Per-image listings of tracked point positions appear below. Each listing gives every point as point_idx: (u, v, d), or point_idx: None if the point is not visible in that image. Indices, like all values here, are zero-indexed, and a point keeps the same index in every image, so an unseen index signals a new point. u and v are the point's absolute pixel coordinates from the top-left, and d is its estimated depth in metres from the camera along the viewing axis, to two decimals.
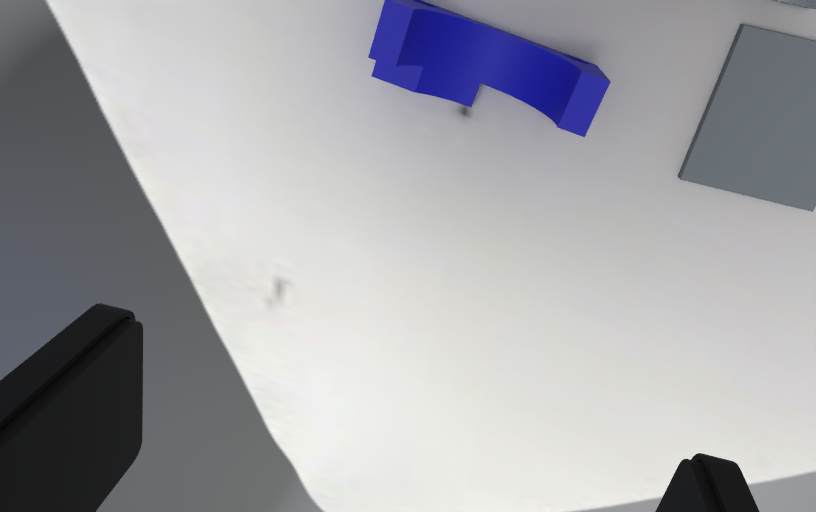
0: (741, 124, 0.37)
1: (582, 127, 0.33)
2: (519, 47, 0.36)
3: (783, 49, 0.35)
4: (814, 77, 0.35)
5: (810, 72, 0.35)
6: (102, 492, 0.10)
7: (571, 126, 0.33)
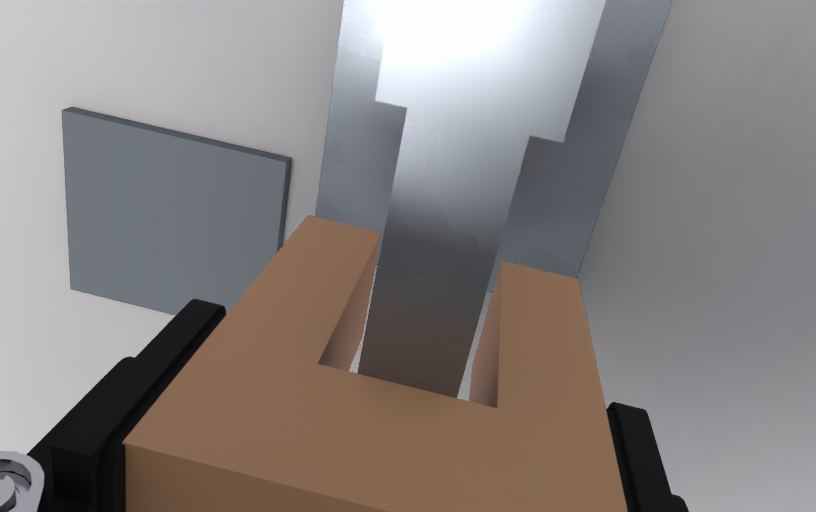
0: (157, 182, 0.25)
1: None
2: None
3: (261, 217, 0.25)
4: (233, 260, 0.26)
5: (238, 254, 0.26)
6: None
7: None
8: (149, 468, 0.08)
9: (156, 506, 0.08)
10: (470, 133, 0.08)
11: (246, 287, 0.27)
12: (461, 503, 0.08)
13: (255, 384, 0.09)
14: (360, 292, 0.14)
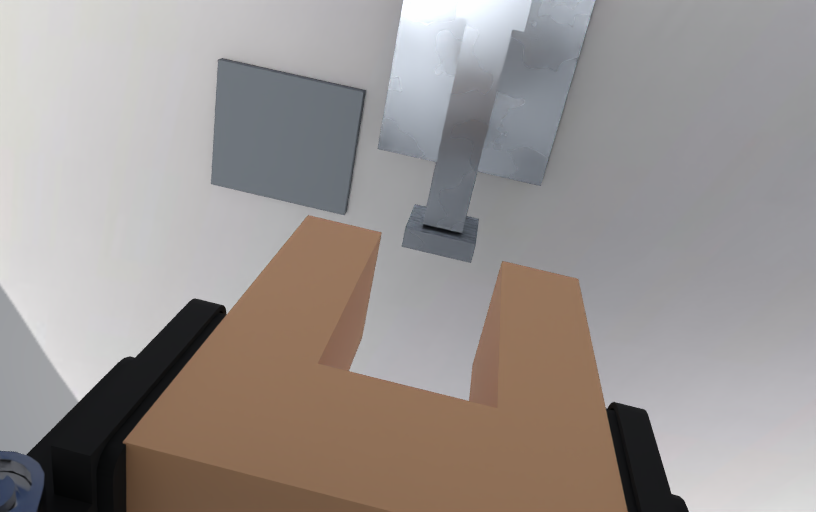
0: (277, 107, 0.39)
1: None
2: None
3: (345, 129, 0.39)
4: (324, 159, 0.40)
5: (328, 155, 0.40)
6: None
7: None
8: (150, 467, 0.08)
9: (157, 506, 0.08)
10: (490, 30, 0.22)
11: (332, 178, 0.40)
12: (460, 502, 0.08)
13: (255, 384, 0.09)
14: (360, 292, 0.14)
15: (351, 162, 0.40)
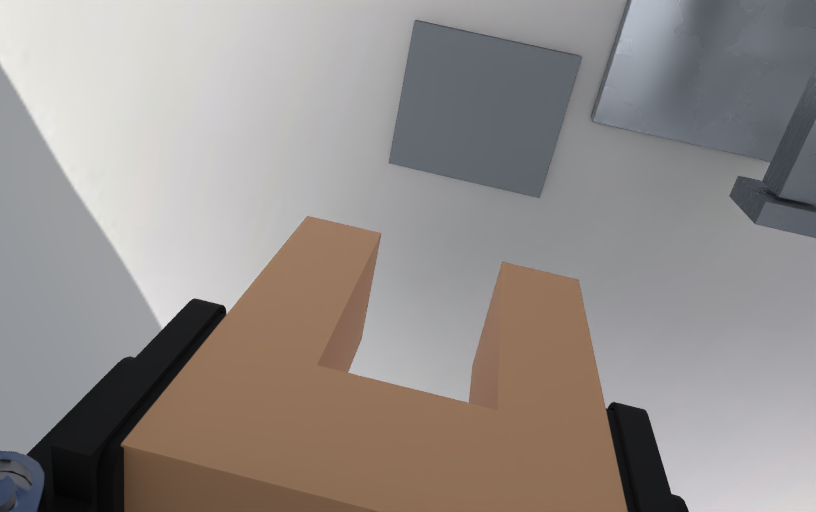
0: (477, 75, 0.35)
1: None
2: None
3: (554, 100, 0.35)
4: (524, 135, 0.35)
5: (530, 130, 0.35)
6: None
7: None
8: (148, 470, 0.08)
9: (155, 509, 0.08)
10: None
11: (530, 157, 0.36)
12: (460, 505, 0.08)
13: (254, 386, 0.09)
14: (360, 293, 0.14)
15: (556, 138, 0.35)
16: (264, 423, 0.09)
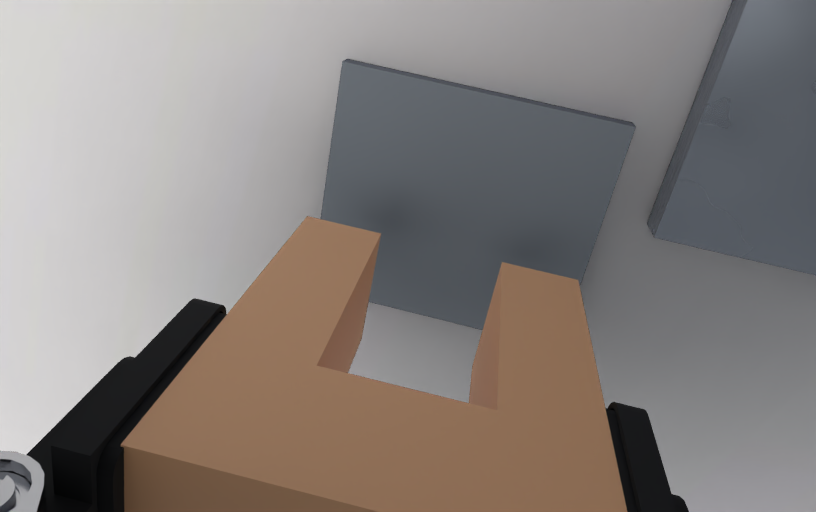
0: (453, 153, 0.20)
1: None
2: None
3: (585, 198, 0.20)
4: (534, 252, 0.21)
5: (543, 244, 0.21)
6: None
7: None
8: (147, 470, 0.08)
9: (155, 509, 0.08)
10: None
11: None
12: (460, 506, 0.08)
13: (254, 386, 0.09)
14: (360, 293, 0.14)
15: (587, 258, 0.21)
16: (264, 423, 0.09)
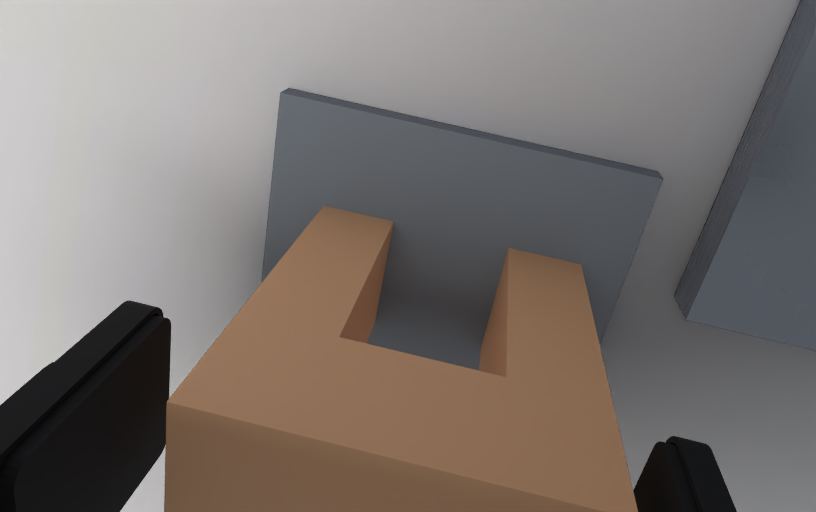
0: (426, 210, 0.16)
1: None
2: None
3: (596, 267, 0.15)
4: None
5: None
6: (131, 485, 0.11)
7: None
8: (190, 426, 0.09)
9: (196, 462, 0.09)
10: None
11: None
12: (475, 456, 0.09)
13: (283, 354, 0.10)
14: (375, 277, 0.14)
15: (598, 339, 0.16)
16: (294, 385, 0.09)
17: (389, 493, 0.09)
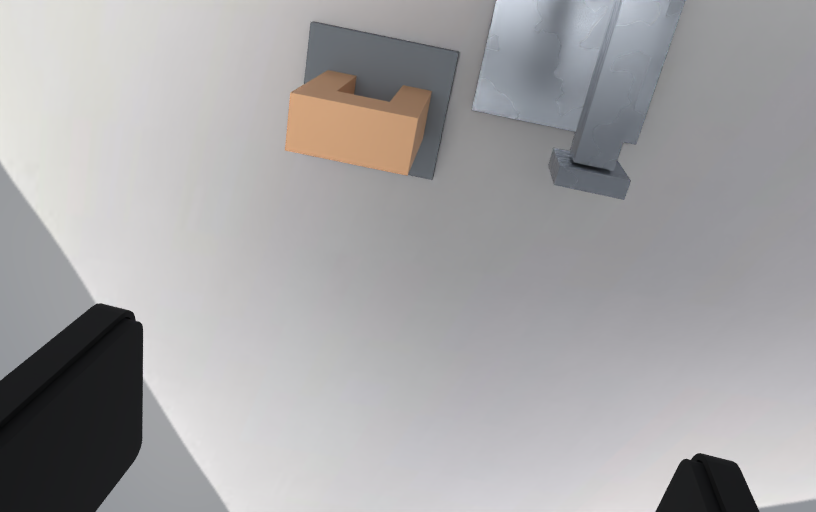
0: (369, 70, 0.39)
1: None
2: None
3: (437, 91, 0.39)
4: None
5: None
6: (102, 492, 0.10)
7: None
8: (296, 100, 0.32)
9: (297, 113, 0.32)
10: None
11: (421, 142, 0.40)
12: (375, 107, 0.32)
13: (319, 91, 0.33)
14: (348, 91, 0.38)
15: (442, 125, 0.40)
16: (324, 95, 0.33)
17: (352, 117, 0.32)
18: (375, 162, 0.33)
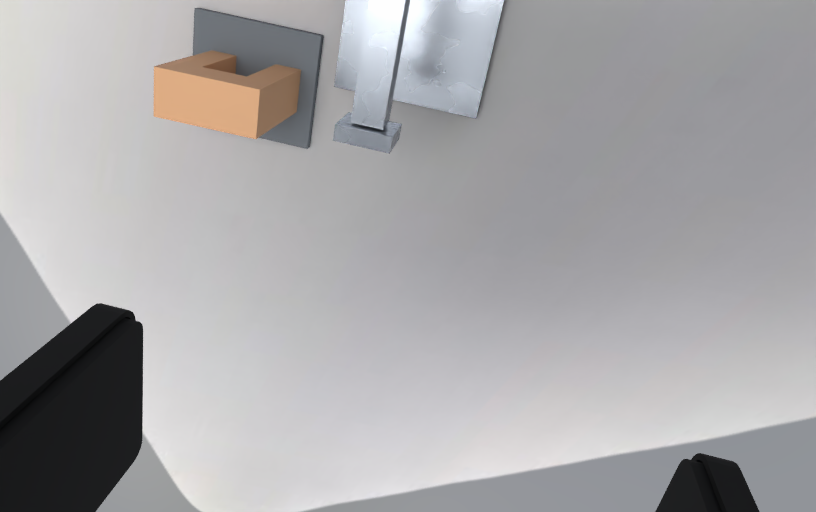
0: (247, 50, 0.44)
1: None
2: None
3: (306, 70, 0.44)
4: None
5: None
6: (102, 492, 0.10)
7: None
8: (159, 73, 0.38)
9: (161, 84, 0.38)
10: None
11: (295, 115, 0.46)
12: (226, 80, 0.38)
13: (184, 66, 0.39)
14: (225, 68, 0.43)
15: (312, 100, 0.45)
16: (185, 69, 0.38)
17: (206, 88, 0.38)
18: (228, 127, 0.38)
